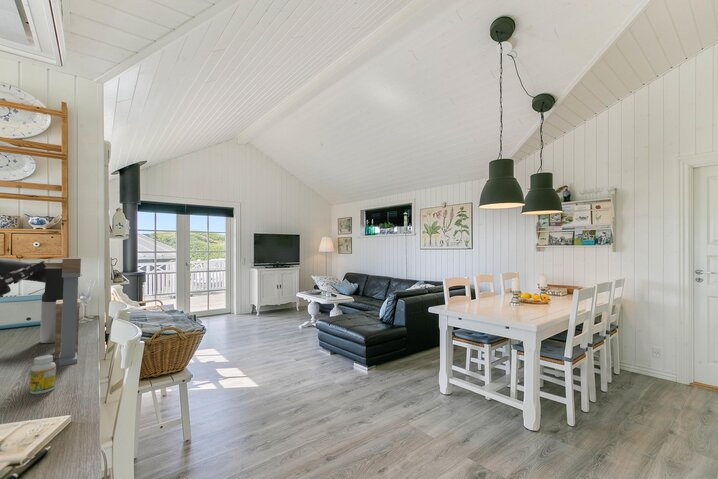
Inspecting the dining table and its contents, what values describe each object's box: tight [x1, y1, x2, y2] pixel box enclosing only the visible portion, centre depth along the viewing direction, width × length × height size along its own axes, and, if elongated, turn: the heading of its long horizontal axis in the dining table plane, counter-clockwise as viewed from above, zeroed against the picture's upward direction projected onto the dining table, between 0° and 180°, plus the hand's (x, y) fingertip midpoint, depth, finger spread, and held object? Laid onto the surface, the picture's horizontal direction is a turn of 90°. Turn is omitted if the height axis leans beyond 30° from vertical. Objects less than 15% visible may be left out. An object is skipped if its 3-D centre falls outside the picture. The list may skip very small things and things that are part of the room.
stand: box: [57, 272, 81, 367], centre depth 124 cm, size 10×5×32 cm, turn 40°
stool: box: [53, 298, 81, 359], centre depth 132 cm, size 10×7×20 cm
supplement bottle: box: [29, 354, 57, 395], centre depth 99 cm, size 5×5×10 cm
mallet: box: [31, 257, 82, 274], centre depth 122 cm, size 8×13×5 cm, turn 130°
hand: (45, 263), depth 120 cm, fingers open, 8 cm apart
